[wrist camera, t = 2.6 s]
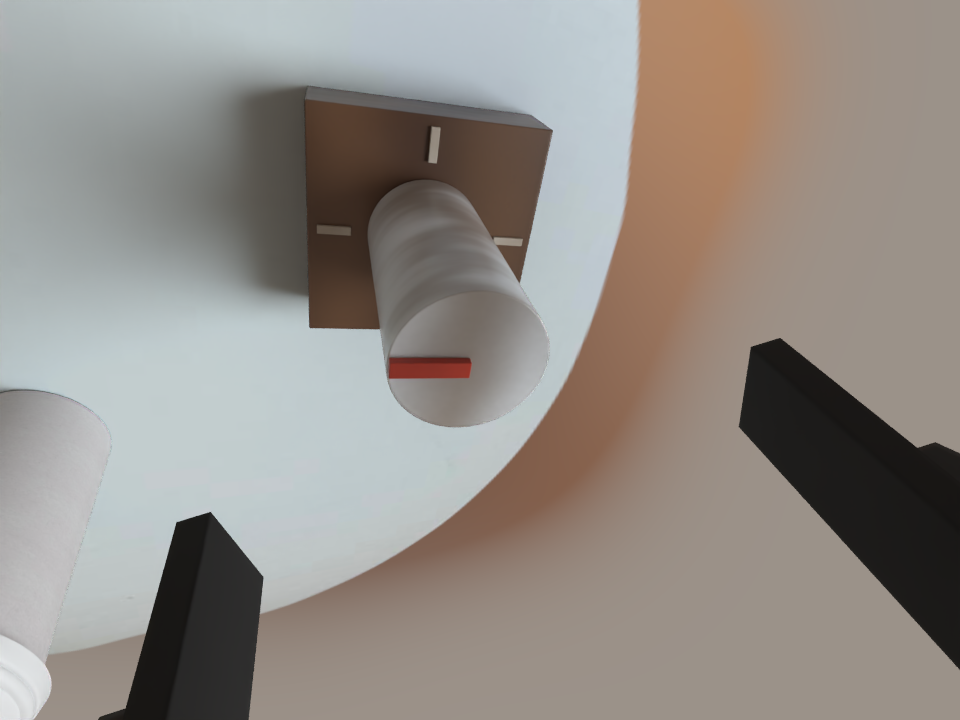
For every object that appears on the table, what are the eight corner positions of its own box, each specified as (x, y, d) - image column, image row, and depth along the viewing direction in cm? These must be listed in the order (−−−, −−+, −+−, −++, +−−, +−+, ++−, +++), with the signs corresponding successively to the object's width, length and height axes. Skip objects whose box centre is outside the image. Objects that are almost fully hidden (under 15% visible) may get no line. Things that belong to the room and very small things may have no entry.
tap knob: (487, 184, 23) (571, 299, 15) (470, 287, 26) (534, 431, 18) (369, 173, 22) (393, 293, 14) (365, 283, 25) (382, 437, 17)
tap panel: (532, 115, 25) (554, 131, 23) (495, 303, 31) (510, 333, 28) (306, 85, 22) (303, 99, 20) (311, 298, 28) (309, 330, 25)
